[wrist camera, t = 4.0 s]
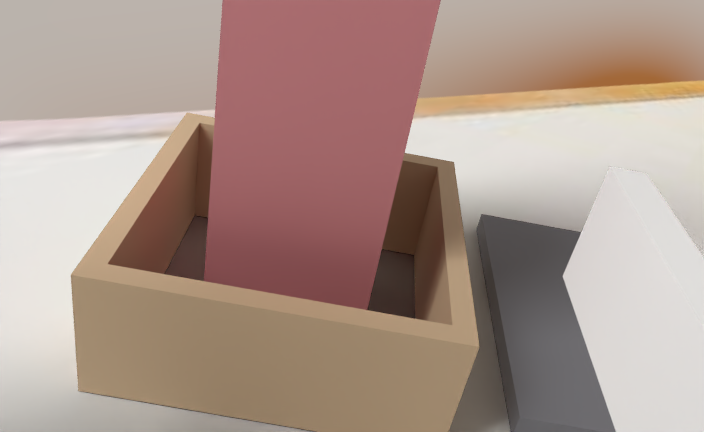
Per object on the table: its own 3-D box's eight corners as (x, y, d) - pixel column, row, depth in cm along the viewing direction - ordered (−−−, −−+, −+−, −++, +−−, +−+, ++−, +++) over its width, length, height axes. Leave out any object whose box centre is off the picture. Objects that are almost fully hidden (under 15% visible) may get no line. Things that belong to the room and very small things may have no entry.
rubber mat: (655, 262, 37) (662, 247, 36) (776, 481, 25) (790, 464, 24) (476, 229, 36) (481, 214, 36) (511, 435, 24) (520, 417, 24)
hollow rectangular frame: (429, 248, 34) (453, 162, 31) (440, 452, 23) (479, 346, 21) (183, 204, 33) (186, 112, 31) (78, 390, 23) (70, 274, 20)
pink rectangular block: (361, 276, 31) (476, -237, 21) (353, 368, 26) (500, -252, 15) (233, 253, 31) (283, -277, 20) (199, 342, 26) (243, -306, 15)
